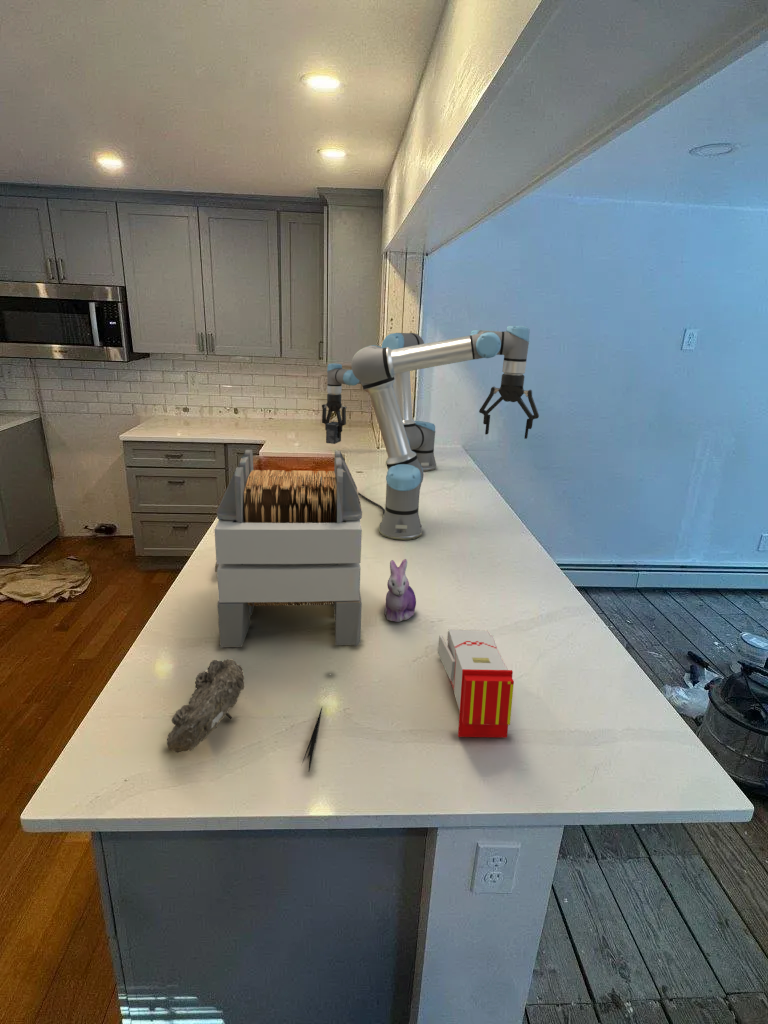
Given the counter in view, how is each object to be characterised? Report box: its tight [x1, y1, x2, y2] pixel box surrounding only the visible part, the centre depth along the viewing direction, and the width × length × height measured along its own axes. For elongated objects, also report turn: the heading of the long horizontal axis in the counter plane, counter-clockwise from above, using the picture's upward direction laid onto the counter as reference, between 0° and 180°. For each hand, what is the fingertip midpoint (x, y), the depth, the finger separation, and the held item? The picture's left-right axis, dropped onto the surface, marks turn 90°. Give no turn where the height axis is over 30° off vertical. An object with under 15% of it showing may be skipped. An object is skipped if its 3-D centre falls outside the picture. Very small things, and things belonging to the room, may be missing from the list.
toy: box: [437, 628, 515, 738], centre depth 117 cm, size 12×13×30 cm
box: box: [325, 421, 342, 445], centre depth 305 cm, size 8×6×11 cm
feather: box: [301, 673, 332, 771], centre depth 108 cm, size 2×28×2 cm
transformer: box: [214, 448, 363, 649], centre depth 139 cm, size 34×33×41 cm
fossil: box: [166, 658, 245, 754], centre depth 106 cm, size 22×10×15 cm
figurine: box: [384, 558, 417, 623], centre depth 145 cm, size 9×10×15 cm
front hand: (506, 435), depth 199 cm, fingers open, 13 cm apart
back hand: (333, 437), depth 306 cm, fingers closed on box, 6 cm apart
